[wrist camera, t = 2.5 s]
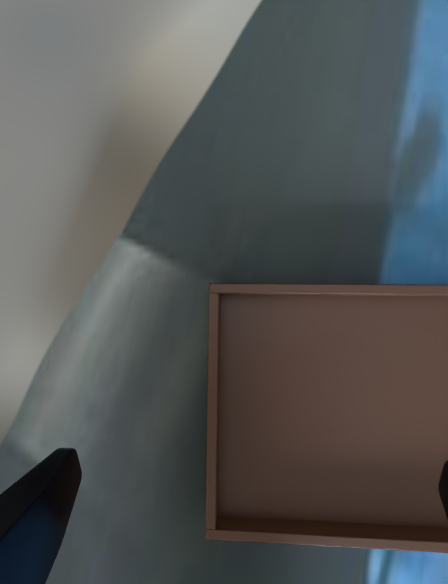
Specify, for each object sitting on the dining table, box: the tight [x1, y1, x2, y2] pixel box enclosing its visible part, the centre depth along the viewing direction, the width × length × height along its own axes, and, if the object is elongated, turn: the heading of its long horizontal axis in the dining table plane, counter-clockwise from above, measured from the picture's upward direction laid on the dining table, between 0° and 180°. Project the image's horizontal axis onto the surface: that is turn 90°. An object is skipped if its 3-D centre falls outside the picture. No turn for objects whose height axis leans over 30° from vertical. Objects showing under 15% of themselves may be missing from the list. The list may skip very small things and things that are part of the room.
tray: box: [205, 283, 448, 553], centre depth 23 cm, size 15×22×2 cm
